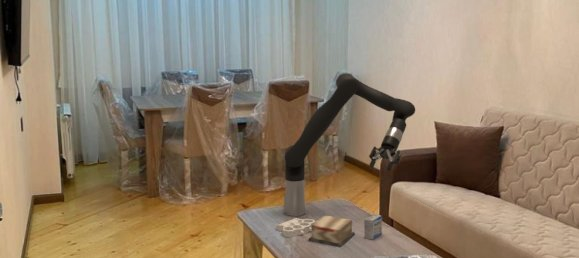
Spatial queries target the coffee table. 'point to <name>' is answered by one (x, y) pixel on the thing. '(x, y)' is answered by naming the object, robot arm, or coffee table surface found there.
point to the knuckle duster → (295, 227)
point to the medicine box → (373, 226)
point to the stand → (332, 231)
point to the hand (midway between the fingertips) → (379, 168)
